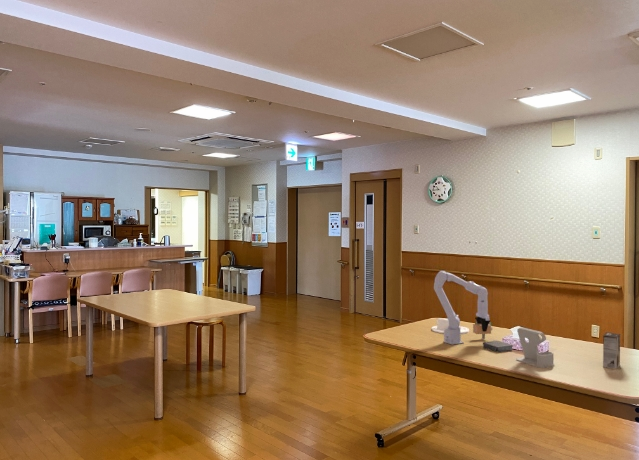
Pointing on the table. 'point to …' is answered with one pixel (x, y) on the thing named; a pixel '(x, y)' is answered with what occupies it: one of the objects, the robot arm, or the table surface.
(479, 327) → the housing
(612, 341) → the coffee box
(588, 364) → the table surface
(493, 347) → the dark grey flat block
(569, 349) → the table surface
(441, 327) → the dish
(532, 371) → the table surface
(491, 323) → the mechanical component
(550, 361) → the phone holder
